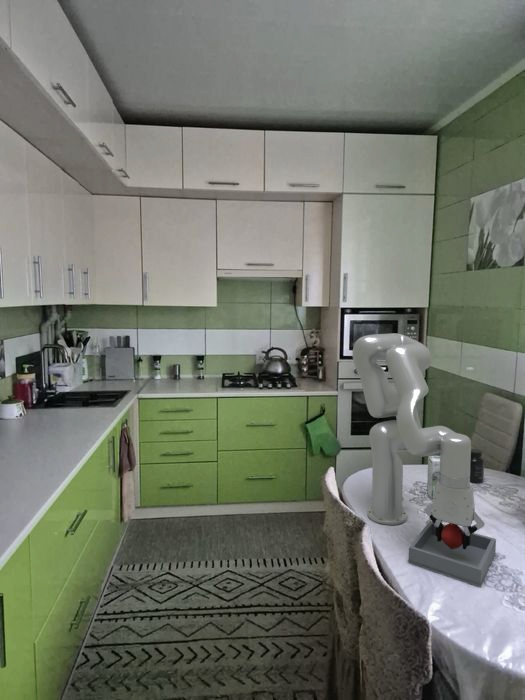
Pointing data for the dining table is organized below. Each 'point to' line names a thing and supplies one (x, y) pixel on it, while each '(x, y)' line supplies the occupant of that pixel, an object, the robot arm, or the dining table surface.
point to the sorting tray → (453, 556)
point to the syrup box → (432, 474)
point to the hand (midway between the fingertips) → (452, 542)
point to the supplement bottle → (476, 466)
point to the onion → (452, 535)
